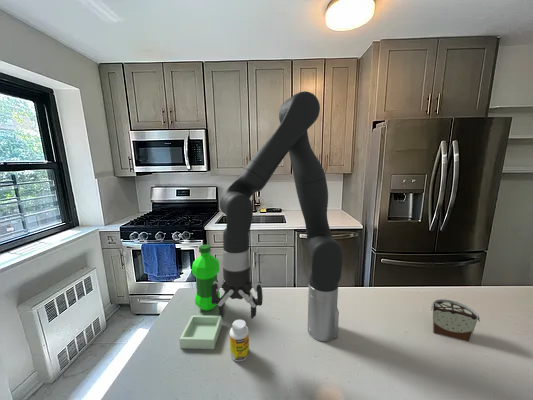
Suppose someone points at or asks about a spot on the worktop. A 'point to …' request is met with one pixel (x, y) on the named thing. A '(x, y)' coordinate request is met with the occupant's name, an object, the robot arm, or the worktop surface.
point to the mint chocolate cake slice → (453, 320)
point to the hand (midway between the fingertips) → (237, 316)
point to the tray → (201, 332)
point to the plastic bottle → (205, 277)
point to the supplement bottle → (239, 340)
